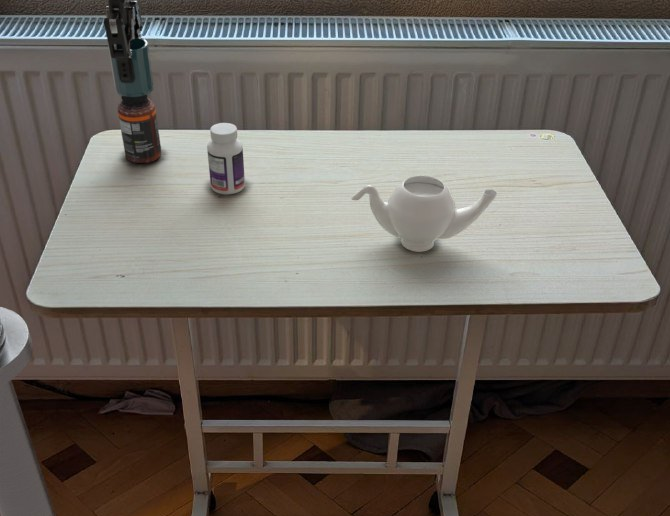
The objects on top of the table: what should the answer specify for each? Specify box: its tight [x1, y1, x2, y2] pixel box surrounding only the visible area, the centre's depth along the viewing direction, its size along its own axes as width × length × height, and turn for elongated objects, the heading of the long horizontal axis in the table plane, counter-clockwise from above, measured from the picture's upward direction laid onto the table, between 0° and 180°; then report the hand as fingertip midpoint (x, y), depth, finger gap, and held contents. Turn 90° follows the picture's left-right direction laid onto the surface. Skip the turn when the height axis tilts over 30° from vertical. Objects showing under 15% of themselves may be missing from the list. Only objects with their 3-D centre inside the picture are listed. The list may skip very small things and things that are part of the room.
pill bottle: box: [206, 122, 246, 195], centre depth 128 cm, size 5×5×10 cm
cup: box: [107, 37, 154, 97], centre depth 127 cm, size 6×6×7 cm
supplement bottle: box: [117, 94, 162, 164], centre depth 134 cm, size 6×6×11 cm
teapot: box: [350, 175, 497, 253], centre depth 118 cm, size 10×20×9 cm, turn 82°
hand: (131, 72), depth 128 cm, fingers closed on cup, 5 cm apart
